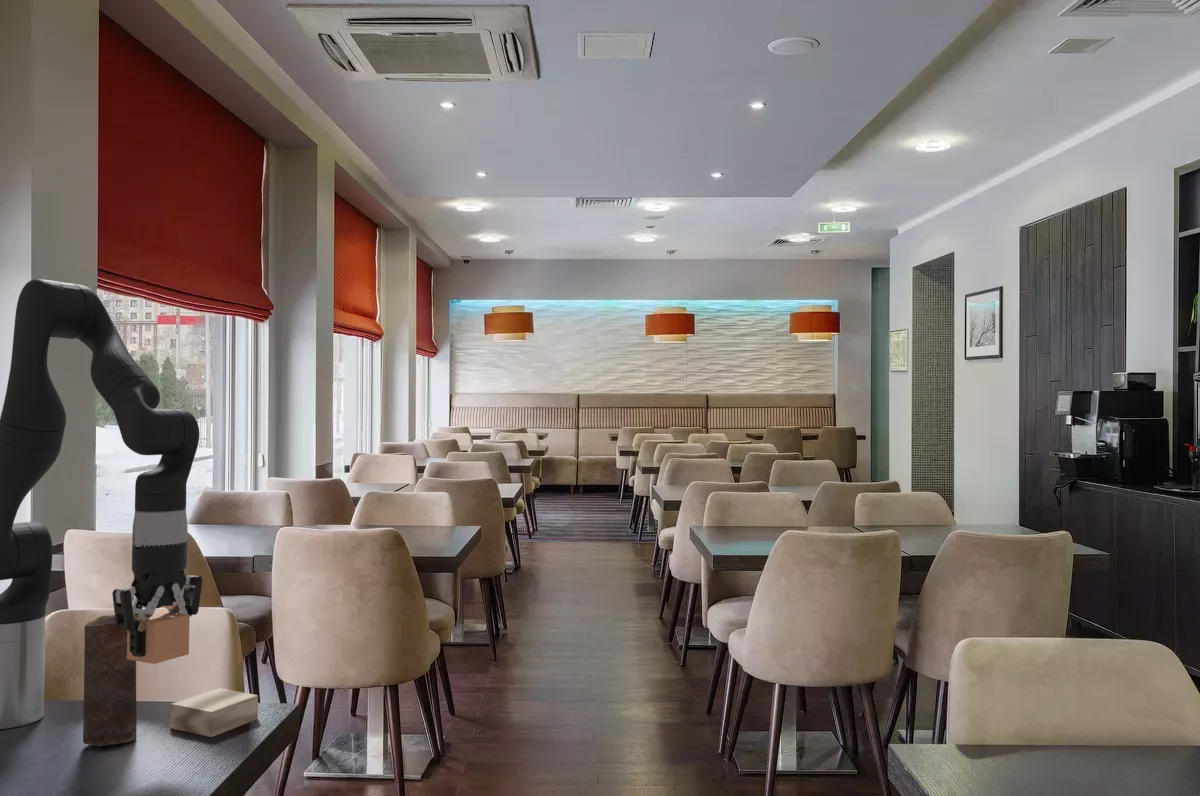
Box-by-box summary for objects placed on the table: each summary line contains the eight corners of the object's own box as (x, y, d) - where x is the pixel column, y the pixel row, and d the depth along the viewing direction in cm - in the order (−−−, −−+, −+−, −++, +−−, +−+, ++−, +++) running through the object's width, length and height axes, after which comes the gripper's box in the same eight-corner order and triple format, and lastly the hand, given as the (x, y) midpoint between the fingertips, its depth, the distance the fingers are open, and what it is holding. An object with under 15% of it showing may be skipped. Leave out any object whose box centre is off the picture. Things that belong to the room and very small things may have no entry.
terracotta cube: (126, 658, 132) (127, 618, 132) (162, 649, 137) (162, 610, 137) (154, 664, 129) (154, 623, 129) (188, 654, 134) (189, 614, 135)
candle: (111, 755, 133) (113, 622, 133) (70, 751, 134) (72, 620, 135) (147, 737, 140) (148, 612, 141) (107, 734, 142) (109, 610, 142)
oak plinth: (170, 728, 145) (170, 703, 145) (217, 711, 153) (218, 687, 153) (211, 737, 141) (211, 712, 141) (257, 719, 149) (258, 695, 149)
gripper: (183, 532, 141) (181, 637, 141) (99, 544, 128) (97, 659, 128) (216, 535, 138) (214, 642, 138) (133, 547, 125) (131, 666, 125)
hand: (158, 650), depth 133 cm, fingers closed on terracotta cube, 6 cm apart
